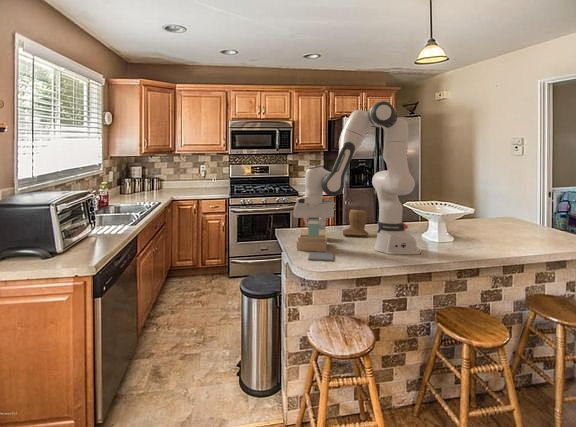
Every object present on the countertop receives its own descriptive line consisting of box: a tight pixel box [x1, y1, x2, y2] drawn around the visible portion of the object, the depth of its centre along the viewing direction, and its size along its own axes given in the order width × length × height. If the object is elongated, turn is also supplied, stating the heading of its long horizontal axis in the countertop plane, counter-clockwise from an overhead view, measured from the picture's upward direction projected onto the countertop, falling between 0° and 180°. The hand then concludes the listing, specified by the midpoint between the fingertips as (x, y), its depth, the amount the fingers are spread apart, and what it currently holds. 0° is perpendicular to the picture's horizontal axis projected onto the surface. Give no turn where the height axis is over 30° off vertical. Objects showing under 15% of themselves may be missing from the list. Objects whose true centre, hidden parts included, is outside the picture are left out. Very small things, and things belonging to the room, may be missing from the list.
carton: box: [296, 228, 328, 252], centre depth 196 cm, size 14×20×7 cm
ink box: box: [319, 218, 327, 230], centre depth 213 cm, size 8×5×12 cm, turn 141°
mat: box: [307, 251, 334, 262], centre depth 178 cm, size 11×11×1 cm
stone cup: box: [342, 209, 369, 237], centre depth 223 cm, size 15×12×15 cm
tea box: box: [307, 218, 319, 237], centre depth 195 cm, size 5×6×9 cm
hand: (313, 226), depth 195 cm, fingers closed on tea box, 5 cm apart
